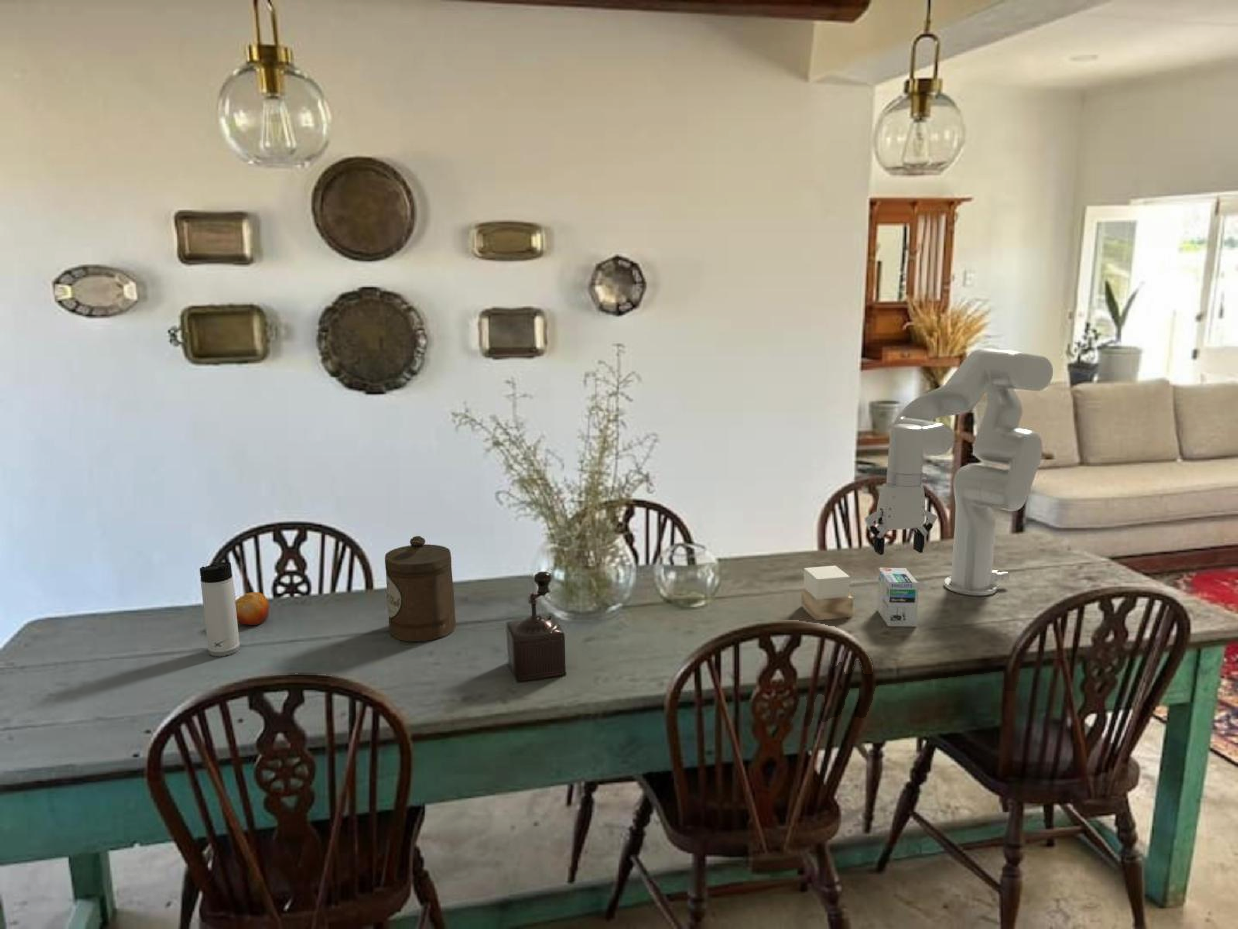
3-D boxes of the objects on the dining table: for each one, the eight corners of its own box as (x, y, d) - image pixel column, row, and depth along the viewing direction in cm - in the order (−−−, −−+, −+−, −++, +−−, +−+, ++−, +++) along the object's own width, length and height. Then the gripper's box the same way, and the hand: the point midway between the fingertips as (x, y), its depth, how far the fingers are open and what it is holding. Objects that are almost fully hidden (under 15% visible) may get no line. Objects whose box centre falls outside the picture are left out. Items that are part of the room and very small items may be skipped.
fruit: (283, 610, 221) (267, 588, 216) (263, 637, 216) (247, 615, 211) (258, 605, 225) (242, 584, 219) (237, 631, 220) (220, 610, 214)
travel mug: (221, 659, 198) (212, 570, 194) (202, 653, 201) (192, 564, 197) (247, 649, 203) (238, 561, 199) (228, 643, 207) (218, 556, 202)
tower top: (834, 585, 226) (835, 565, 224) (848, 596, 218) (849, 576, 217) (803, 587, 224) (804, 568, 223) (816, 599, 216) (817, 579, 215)
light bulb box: (917, 627, 212) (920, 582, 210) (887, 627, 212) (889, 582, 210) (904, 609, 222) (906, 566, 220) (875, 609, 223) (878, 566, 220)
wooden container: (394, 618, 220) (388, 528, 215) (458, 615, 221) (453, 526, 216) (384, 644, 205) (378, 548, 201) (452, 641, 207) (448, 546, 202)
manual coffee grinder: (570, 676, 189) (568, 592, 185) (516, 683, 186) (513, 598, 182) (552, 646, 204) (550, 567, 200) (502, 652, 200) (499, 573, 196)
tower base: (836, 604, 227) (836, 584, 226) (852, 618, 218) (853, 597, 217) (801, 607, 225) (801, 587, 224) (816, 621, 217) (816, 600, 216)
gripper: (930, 474, 215) (924, 545, 219) (860, 476, 212) (856, 549, 215) (947, 481, 208) (941, 555, 212) (876, 484, 205) (871, 559, 208)
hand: (898, 552), depth 213 cm, fingers open, 9 cm apart
